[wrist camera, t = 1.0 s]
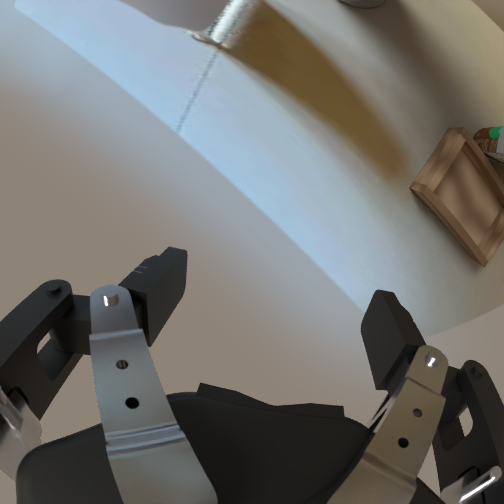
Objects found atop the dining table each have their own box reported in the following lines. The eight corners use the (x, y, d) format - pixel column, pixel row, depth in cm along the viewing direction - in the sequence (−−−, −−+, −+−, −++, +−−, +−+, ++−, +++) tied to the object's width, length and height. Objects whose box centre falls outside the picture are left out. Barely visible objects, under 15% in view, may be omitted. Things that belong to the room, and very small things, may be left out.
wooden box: (448, 127, 27) (463, 127, 24) (505, 205, 29) (519, 211, 26) (409, 187, 32) (422, 193, 28) (471, 257, 34) (484, 267, 30)
